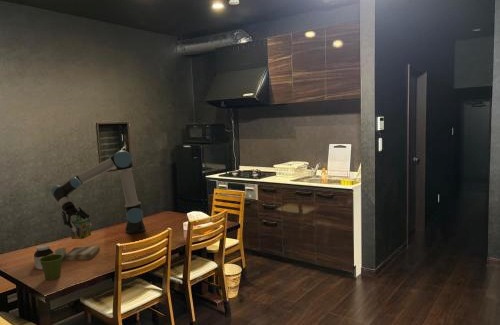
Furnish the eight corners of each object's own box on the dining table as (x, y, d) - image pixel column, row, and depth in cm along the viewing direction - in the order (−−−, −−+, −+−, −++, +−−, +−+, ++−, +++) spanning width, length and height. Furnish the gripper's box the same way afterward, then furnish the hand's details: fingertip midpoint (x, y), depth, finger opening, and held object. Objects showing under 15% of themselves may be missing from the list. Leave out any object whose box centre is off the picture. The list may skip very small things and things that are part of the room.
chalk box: (83, 239, 252) (80, 217, 251) (71, 239, 254) (68, 217, 252) (91, 235, 261) (89, 214, 260) (79, 235, 263) (77, 214, 261)
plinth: (99, 250, 252) (99, 245, 251) (91, 258, 236) (91, 253, 235) (74, 252, 250) (74, 247, 250) (65, 260, 234) (64, 255, 234)
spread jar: (50, 261, 234) (48, 243, 233) (58, 265, 227) (57, 246, 226) (29, 267, 225) (27, 248, 224) (37, 271, 218) (35, 252, 216)
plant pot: (35, 280, 205) (33, 260, 203) (54, 272, 216) (52, 253, 214) (51, 283, 200) (50, 262, 199) (69, 274, 211) (68, 255, 210)
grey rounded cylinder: (68, 256, 241) (67, 247, 241) (64, 260, 235) (63, 250, 235) (58, 257, 241) (57, 248, 240) (54, 260, 235) (53, 251, 234)
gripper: (79, 204, 273) (95, 227, 267) (48, 212, 253) (65, 237, 247) (83, 197, 270) (100, 220, 264) (52, 204, 250) (69, 229, 244)
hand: (83, 228), depth 256 cm, fingers closed on chalk box, 11 cm apart
